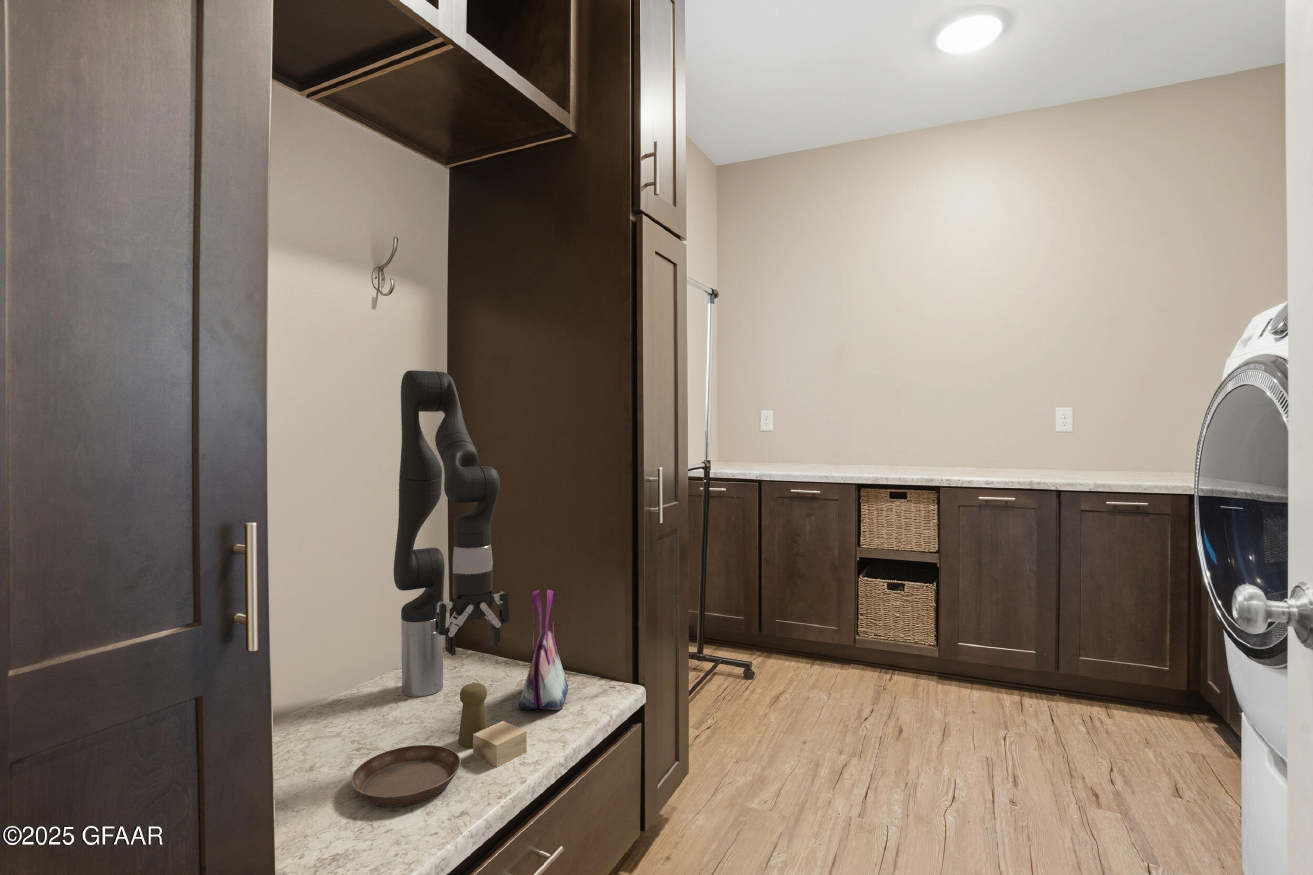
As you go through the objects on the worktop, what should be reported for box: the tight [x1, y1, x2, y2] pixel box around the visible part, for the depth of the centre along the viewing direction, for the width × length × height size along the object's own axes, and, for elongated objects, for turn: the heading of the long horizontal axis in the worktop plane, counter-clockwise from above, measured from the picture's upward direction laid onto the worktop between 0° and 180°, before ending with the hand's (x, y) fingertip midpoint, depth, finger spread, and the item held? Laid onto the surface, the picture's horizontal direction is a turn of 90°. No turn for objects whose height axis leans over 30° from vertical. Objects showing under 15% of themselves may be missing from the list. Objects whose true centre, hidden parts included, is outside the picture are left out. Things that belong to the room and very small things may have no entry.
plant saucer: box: [350, 744, 462, 808], centre depth 113 cm, size 18×18×3 cm
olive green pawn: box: [457, 682, 489, 749], centre depth 128 cm, size 6×6×11 cm
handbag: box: [518, 589, 569, 711], centre depth 147 cm, size 21×10×25 cm, turn 1°
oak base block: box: [472, 720, 528, 768], centre depth 123 cm, size 7×7×4 cm
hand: (473, 649), depth 128 cm, fingers open, 8 cm apart
